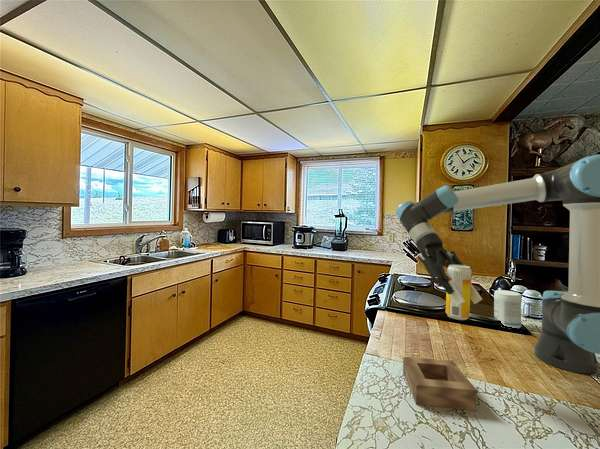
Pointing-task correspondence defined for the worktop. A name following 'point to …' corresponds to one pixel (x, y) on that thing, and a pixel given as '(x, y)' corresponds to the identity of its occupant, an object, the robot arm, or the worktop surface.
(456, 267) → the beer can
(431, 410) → the worktop surface
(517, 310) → the supplement tub
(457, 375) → the walnut socket holder
